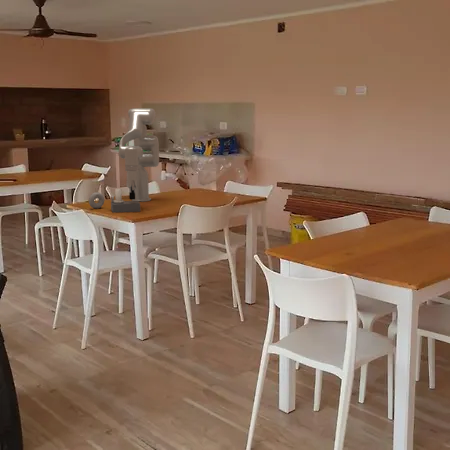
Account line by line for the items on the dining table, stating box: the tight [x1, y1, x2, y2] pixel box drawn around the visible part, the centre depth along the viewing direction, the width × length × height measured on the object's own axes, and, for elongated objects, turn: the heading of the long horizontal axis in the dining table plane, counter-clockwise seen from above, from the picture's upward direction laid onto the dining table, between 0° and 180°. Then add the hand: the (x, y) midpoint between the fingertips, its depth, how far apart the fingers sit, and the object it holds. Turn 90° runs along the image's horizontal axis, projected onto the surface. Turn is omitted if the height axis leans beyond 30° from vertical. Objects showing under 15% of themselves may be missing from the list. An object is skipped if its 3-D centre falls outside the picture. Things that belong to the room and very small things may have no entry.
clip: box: [110, 194, 130, 201], centre depth 368 cm, size 2×15×2 cm, turn 106°
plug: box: [114, 188, 125, 204], centre depth 364 cm, size 6×6×13 cm
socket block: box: [110, 199, 141, 214], centre depth 366 cm, size 11×16×6 cm
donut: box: [88, 191, 105, 209], centre depth 372 cm, size 10×4×10 cm, turn 128°
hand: (132, 199), depth 364 cm, fingers closed
